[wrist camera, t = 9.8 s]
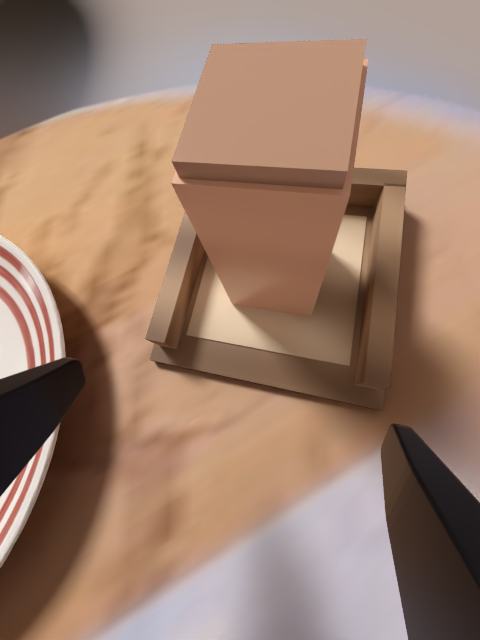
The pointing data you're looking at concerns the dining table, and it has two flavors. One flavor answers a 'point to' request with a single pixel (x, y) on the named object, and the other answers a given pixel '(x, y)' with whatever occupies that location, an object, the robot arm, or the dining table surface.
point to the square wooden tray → (290, 329)
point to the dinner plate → (19, 355)
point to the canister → (272, 164)
